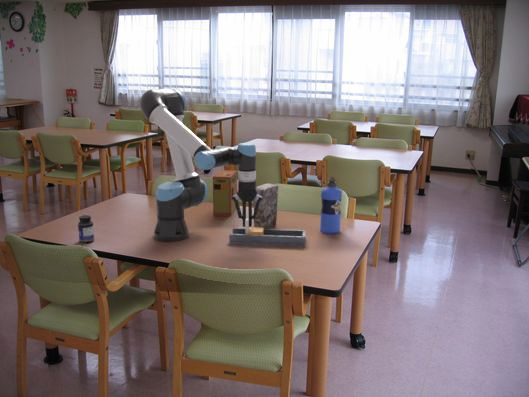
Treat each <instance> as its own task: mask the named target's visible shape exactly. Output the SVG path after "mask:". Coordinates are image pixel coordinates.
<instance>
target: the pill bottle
mask: <svg viewBox="0 0 529 397" xmlns="http://www.w3.org/2000/svg"><path fill="white" fill-rule="evenodd" d="M78 219H79V222H78V223H77V230H78V238H79V239H78V240H79V241H78V242H79V243H81V242H90V243H92V241H93V240H94V241H95V233H94V222H93V221H92V220H91V219H92V216H91V215H89V214H88V215H87V214H85V215H80V216H79V217H78ZM94 241H93V242H94Z"/></svg>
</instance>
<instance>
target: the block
mask: <svg viewBox="0 0 529 397" xmlns="http://www.w3.org/2000/svg"><path fill="white" fill-rule="evenodd" d="M248 234H251V235H264V228H259V227H254V226H253V227H252V226H251V227H249V231H248Z"/></svg>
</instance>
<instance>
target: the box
mask: <svg viewBox="0 0 529 397" xmlns="http://www.w3.org/2000/svg"><path fill="white" fill-rule="evenodd" d="M237 192H238V170H227V169H226V170H225V169H224V170H221V169H220V170H218V172H216V173H215V174H214V175H213V176H212V205H213V208H212V211H213V213H212V214H213V216H215V217H217V216H218V217H232V216H233V214H234V213H235V211H237V210H236V206H235V202H234V201H233V199H232V197H233V195H236V194H237Z"/></svg>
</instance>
